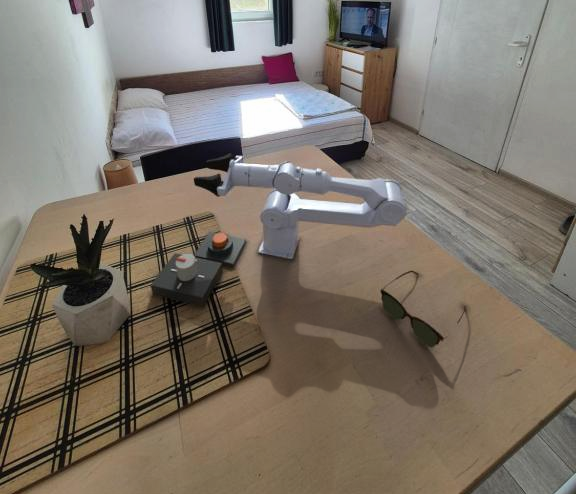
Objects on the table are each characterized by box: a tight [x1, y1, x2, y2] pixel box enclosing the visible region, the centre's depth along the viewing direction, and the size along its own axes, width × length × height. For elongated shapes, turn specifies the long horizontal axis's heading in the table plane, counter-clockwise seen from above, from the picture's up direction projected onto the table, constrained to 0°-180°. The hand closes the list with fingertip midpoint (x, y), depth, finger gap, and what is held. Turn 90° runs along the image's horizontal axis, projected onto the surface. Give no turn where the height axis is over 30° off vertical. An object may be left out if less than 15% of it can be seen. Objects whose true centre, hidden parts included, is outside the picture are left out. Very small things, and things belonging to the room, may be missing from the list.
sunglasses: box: [380, 270, 467, 348], centre depth 72 cm, size 14×15×5 cm
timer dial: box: [176, 253, 197, 281], centre depth 76 cm, size 4×4×4 cm
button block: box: [193, 231, 247, 268], centre depth 87 cm, size 11×9×3 cm
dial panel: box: [150, 252, 224, 308], centre depth 77 cm, size 13×10×3 cm
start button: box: [213, 232, 227, 248], centre depth 86 cm, size 4×4×2 cm
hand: (201, 172), depth 84 cm, fingers open, 7 cm apart
